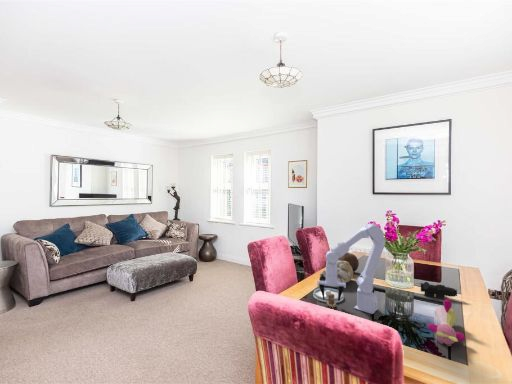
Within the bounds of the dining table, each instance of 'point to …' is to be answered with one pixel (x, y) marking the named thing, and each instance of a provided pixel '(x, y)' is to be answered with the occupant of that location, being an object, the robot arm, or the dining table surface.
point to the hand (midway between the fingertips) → (331, 299)
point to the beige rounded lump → (340, 272)
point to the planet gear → (331, 301)
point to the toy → (446, 325)
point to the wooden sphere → (350, 260)
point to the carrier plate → (319, 296)
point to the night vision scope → (437, 290)
